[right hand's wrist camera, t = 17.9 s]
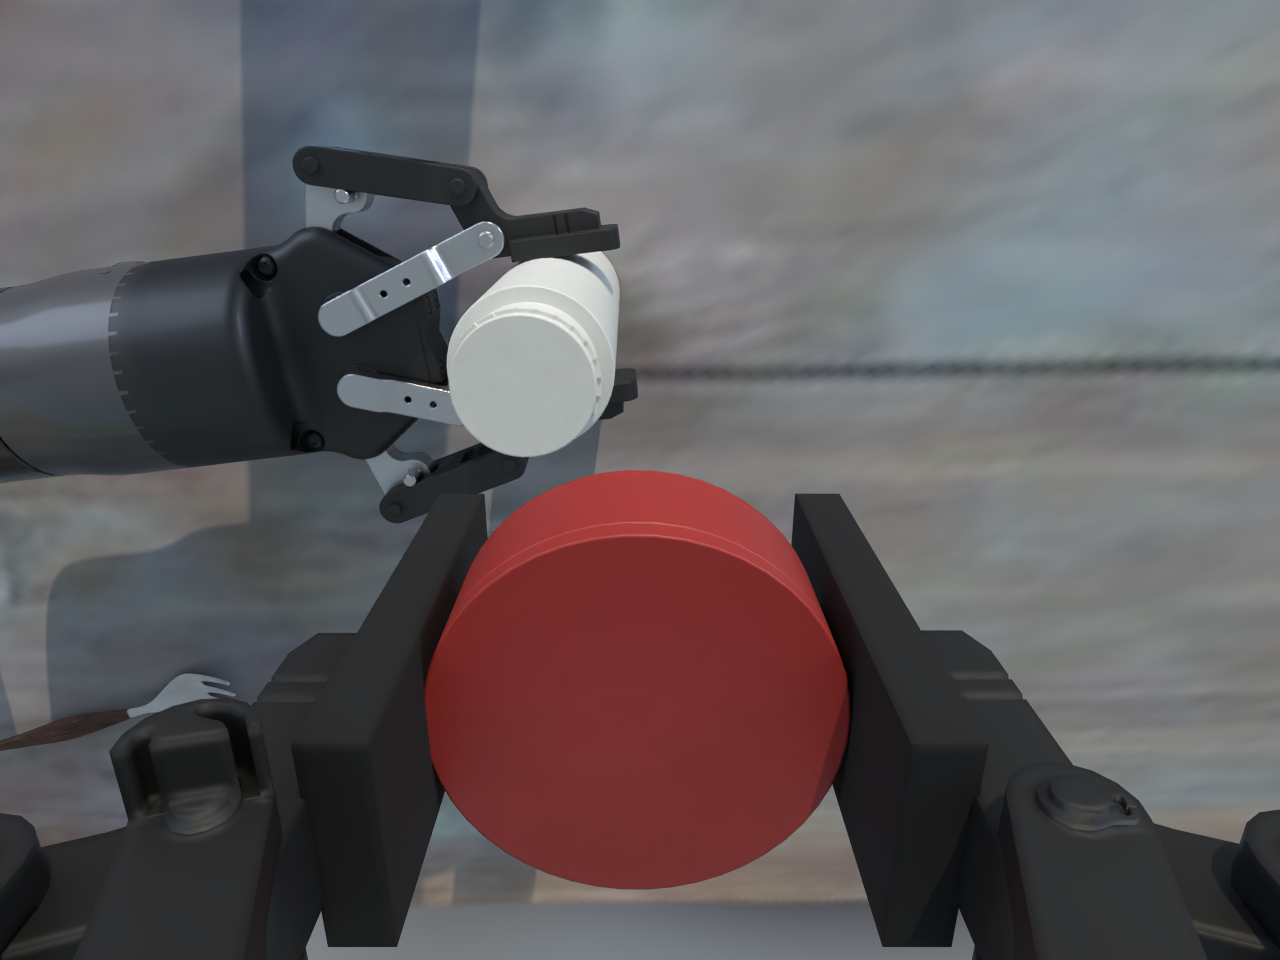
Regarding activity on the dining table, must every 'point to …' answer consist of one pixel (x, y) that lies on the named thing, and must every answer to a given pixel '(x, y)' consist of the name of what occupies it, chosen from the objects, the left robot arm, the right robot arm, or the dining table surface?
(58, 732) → the fork
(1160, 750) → the dining table surface
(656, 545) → the lid
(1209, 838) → the right robot arm
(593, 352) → the white cylinder
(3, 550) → the dining table surface
